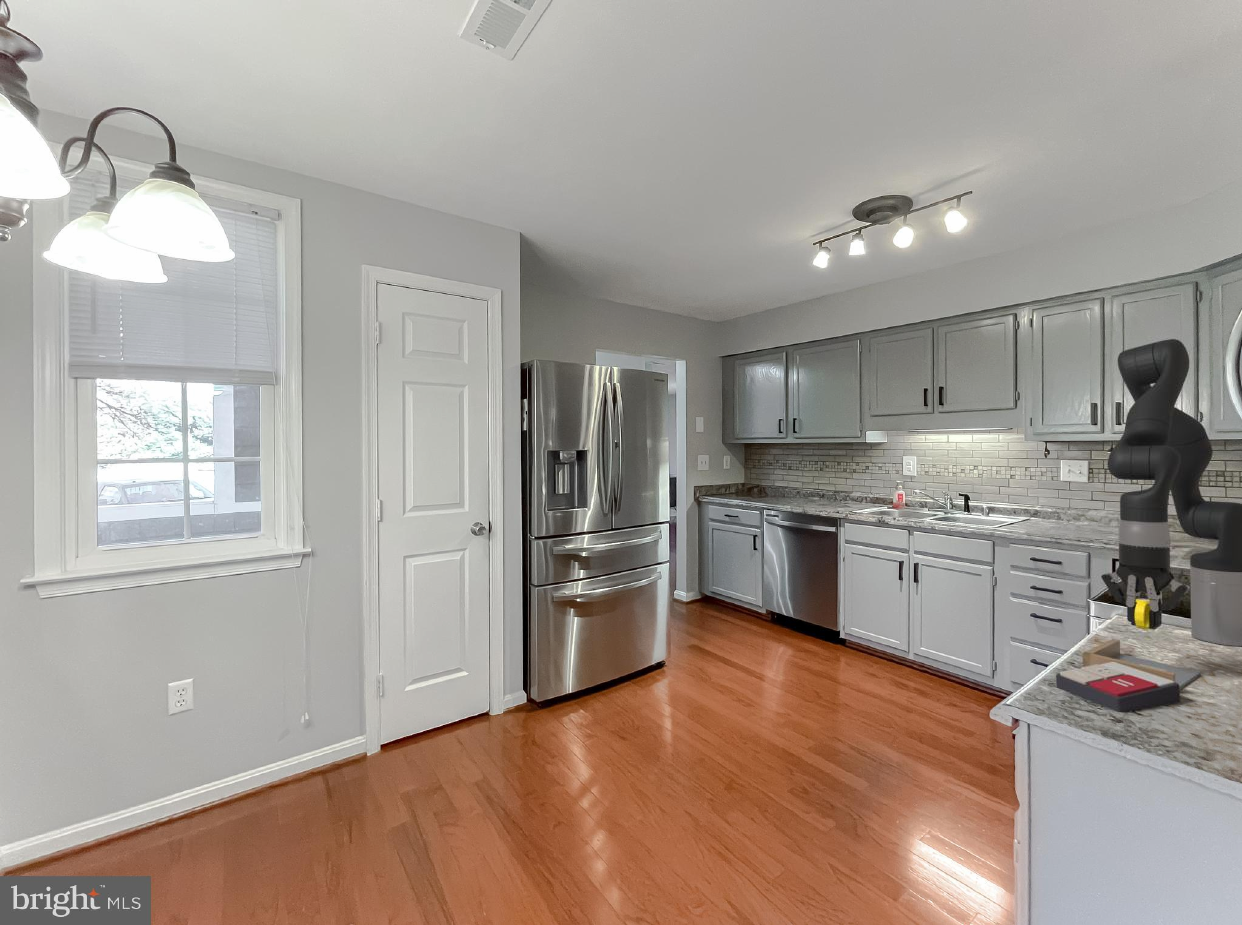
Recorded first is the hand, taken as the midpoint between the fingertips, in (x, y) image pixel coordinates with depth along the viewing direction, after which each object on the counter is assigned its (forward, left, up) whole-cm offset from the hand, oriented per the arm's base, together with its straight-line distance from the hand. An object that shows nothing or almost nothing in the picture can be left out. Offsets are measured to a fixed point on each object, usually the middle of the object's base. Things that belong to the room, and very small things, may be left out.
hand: (1144, 626), depth 109 cm
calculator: (+17, 0, -10) cm, 20 cm away
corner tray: (0, -1, -10) cm, 10 cm away
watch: (0, 0, 0) cm, 0 cm away
